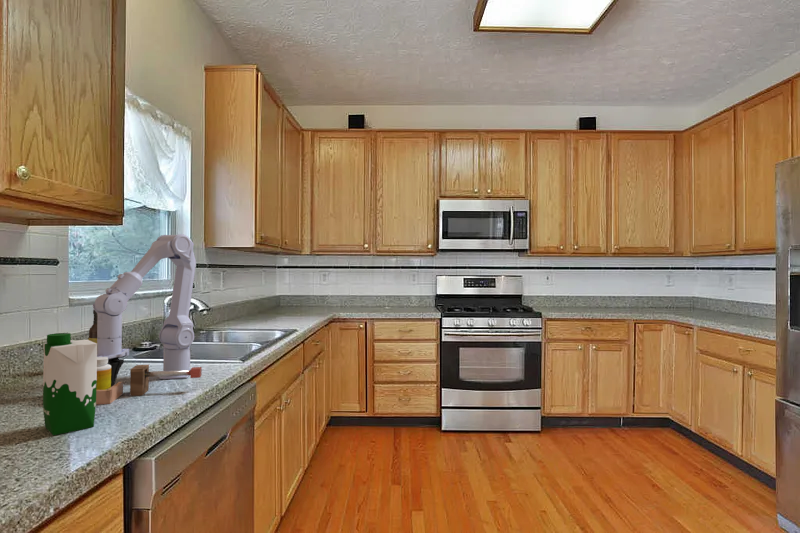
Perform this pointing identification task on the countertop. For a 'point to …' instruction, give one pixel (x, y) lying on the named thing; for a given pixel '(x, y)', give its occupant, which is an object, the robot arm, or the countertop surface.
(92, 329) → the sauce bottle
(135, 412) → the countertop surface
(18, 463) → the countertop surface
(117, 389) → the dock
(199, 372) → the lock pin
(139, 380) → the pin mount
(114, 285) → the robot arm
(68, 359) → the milk carton
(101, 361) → the supplement bottle
